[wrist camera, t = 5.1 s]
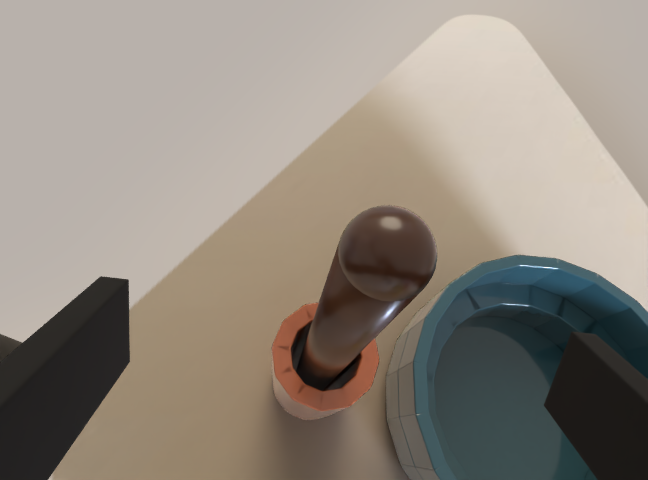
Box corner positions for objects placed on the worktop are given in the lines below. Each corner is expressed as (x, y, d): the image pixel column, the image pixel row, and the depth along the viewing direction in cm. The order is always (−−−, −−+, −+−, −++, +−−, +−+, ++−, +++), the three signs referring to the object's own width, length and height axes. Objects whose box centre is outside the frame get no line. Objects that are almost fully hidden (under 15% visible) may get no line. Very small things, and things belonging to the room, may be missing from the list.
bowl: (349, 489, 24) (373, 504, 18) (418, 260, 31) (452, 217, 25) (611, 601, 23) (725, 654, 17) (623, 339, 30) (708, 315, 24)
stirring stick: (289, 388, 25) (330, 258, 7) (301, 356, 26) (366, 172, 8) (320, 401, 25) (439, 301, 7) (331, 368, 26) (463, 208, 8)
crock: (260, 402, 26) (255, 384, 17) (289, 332, 28) (297, 287, 19) (331, 432, 25) (358, 427, 17) (355, 359, 27) (391, 324, 19)
